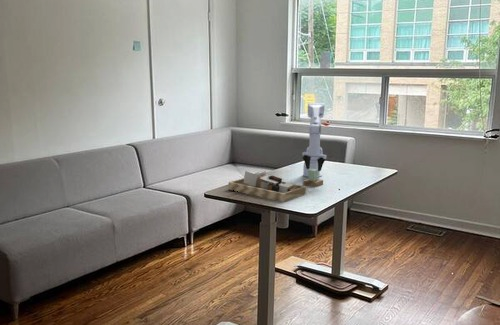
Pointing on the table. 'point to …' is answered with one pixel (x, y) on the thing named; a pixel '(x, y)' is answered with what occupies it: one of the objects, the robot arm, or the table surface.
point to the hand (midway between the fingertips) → (313, 169)
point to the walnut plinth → (313, 183)
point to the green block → (313, 174)
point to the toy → (267, 182)
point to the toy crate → (267, 191)
